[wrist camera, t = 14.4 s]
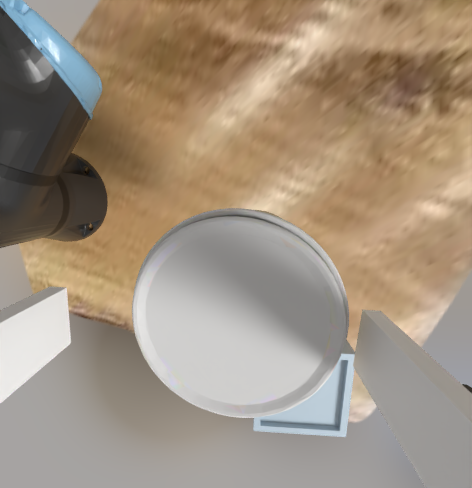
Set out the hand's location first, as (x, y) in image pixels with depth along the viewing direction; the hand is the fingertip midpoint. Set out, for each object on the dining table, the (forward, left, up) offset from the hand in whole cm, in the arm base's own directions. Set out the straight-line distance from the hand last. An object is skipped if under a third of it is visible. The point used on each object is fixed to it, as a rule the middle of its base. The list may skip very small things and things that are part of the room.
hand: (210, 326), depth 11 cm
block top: (+11, -23, -28) cm, 38 cm away
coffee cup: (+2, +1, -11) cm, 11 cm away
